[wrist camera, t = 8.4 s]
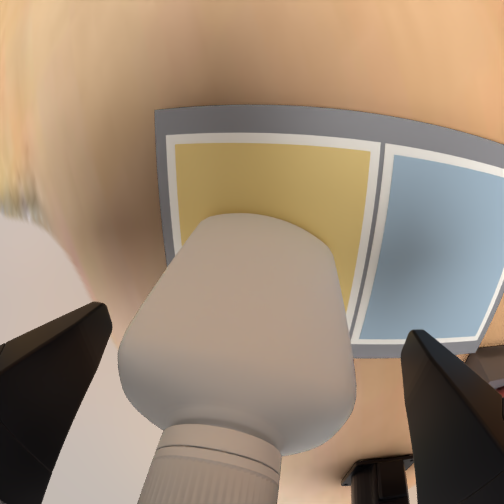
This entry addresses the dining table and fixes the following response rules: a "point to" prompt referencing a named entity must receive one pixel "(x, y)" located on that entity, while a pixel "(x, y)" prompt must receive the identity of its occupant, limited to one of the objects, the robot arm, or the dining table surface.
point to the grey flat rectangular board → (353, 208)
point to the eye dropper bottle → (239, 360)
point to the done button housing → (488, 364)
